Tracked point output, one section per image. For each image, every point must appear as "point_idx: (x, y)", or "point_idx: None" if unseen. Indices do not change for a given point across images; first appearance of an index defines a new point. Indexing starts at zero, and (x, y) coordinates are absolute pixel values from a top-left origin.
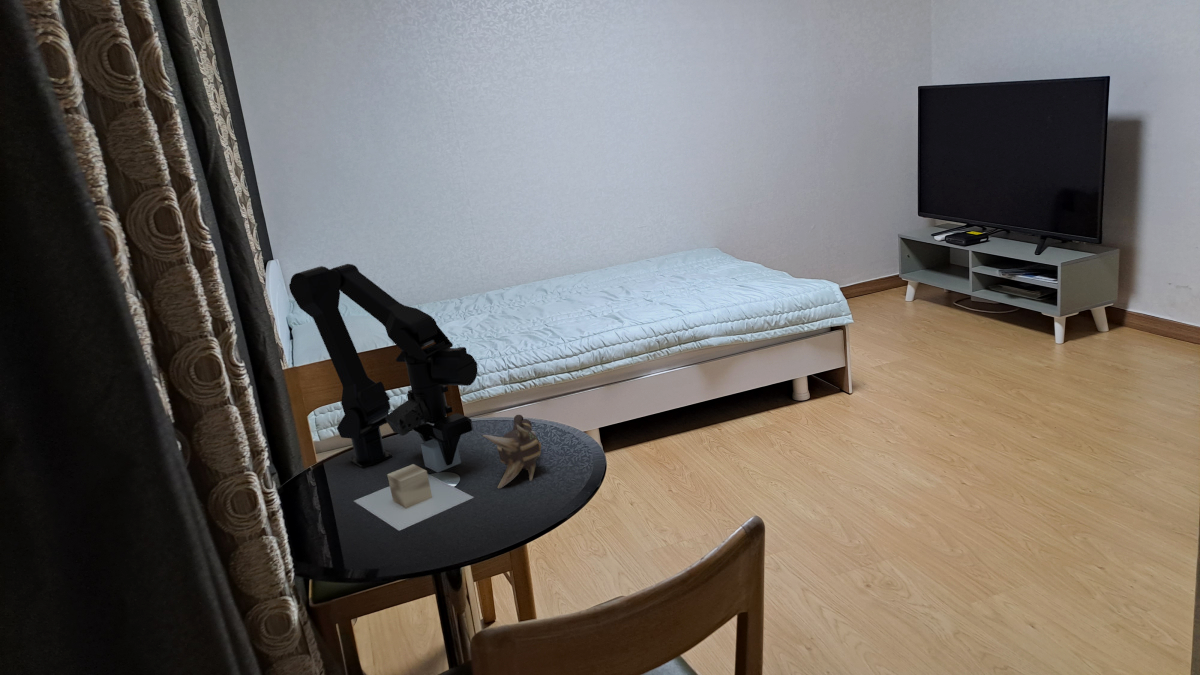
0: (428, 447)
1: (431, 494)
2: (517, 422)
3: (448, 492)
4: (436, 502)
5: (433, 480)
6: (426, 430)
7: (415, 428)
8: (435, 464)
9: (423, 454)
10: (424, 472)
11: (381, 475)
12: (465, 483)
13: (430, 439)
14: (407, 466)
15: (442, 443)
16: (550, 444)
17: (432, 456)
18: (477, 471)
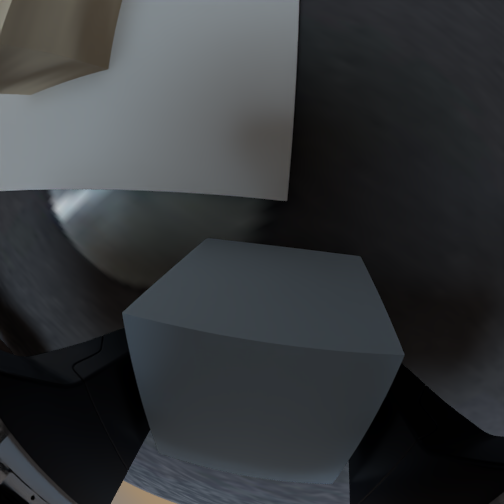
0: (214, 332)
1: (22, 94)
2: None
3: (17, 154)
4: (7, 96)
5: (132, 166)
6: (404, 497)
7: (494, 495)
8: (193, 258)
9: (365, 296)
10: None
11: (495, 86)
12: (48, 241)
13: (375, 433)
14: (9, 7)
15: (27, 359)
16: (133, 467)
17: (195, 284)
18: (100, 330)
